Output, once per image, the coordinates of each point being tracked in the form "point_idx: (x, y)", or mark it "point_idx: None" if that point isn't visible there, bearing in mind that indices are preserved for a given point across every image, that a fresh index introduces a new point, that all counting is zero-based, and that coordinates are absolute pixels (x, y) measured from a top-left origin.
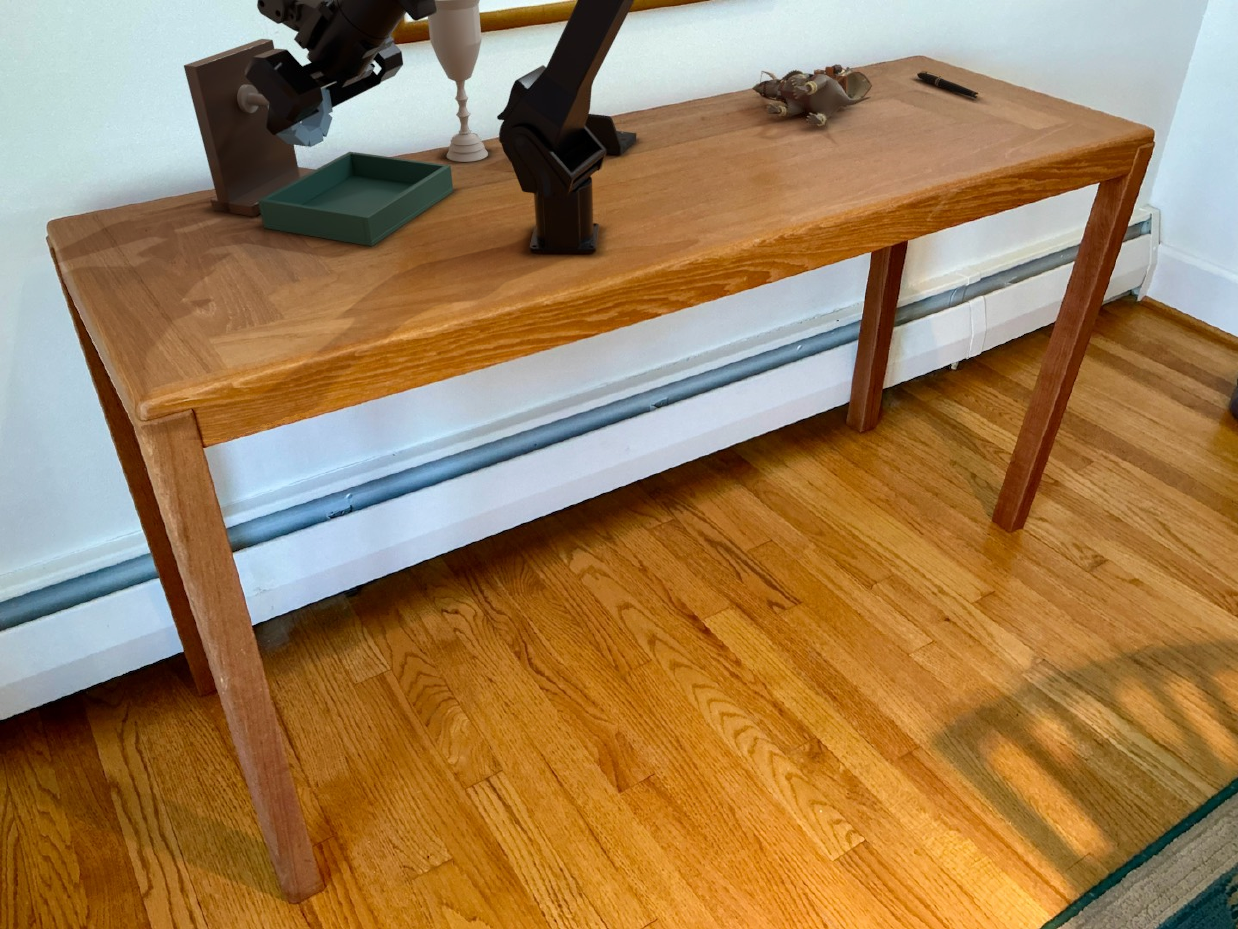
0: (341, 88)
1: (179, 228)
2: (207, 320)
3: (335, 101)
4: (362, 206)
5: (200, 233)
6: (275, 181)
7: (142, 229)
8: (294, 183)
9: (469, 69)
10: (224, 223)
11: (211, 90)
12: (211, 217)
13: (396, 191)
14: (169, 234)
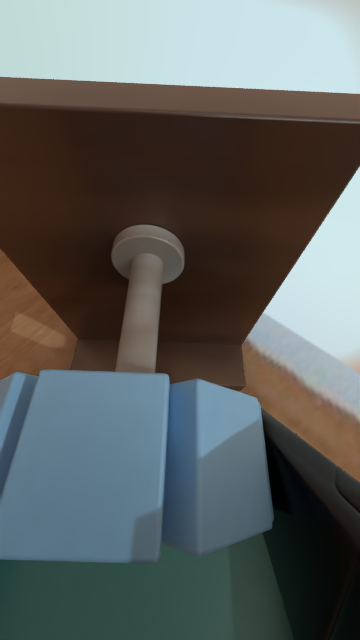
0: (308, 616)
1: (25, 316)
2: None
3: (265, 531)
4: (135, 581)
5: (8, 350)
6: (173, 351)
7: (19, 281)
8: None
9: None
10: (46, 358)
11: (2, 203)
12: (66, 329)
13: (238, 611)
14: (4, 317)
